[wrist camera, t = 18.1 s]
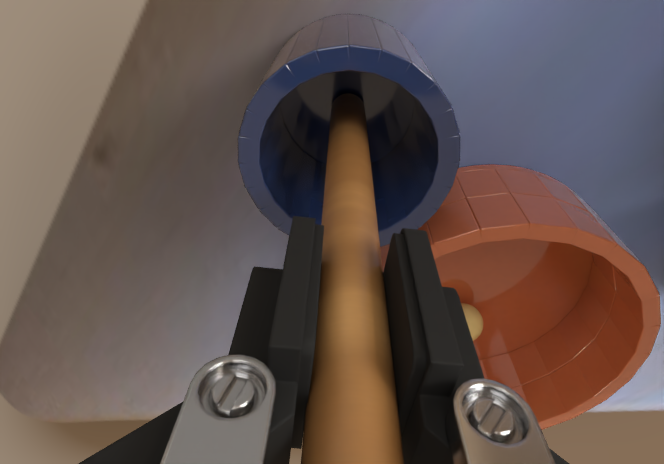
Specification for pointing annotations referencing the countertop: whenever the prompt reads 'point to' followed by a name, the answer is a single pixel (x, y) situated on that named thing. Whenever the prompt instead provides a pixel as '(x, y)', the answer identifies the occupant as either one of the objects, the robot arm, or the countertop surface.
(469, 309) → the dough ball
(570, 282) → the bowl
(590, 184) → the countertop surface
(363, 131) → the stick
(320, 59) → the holder
